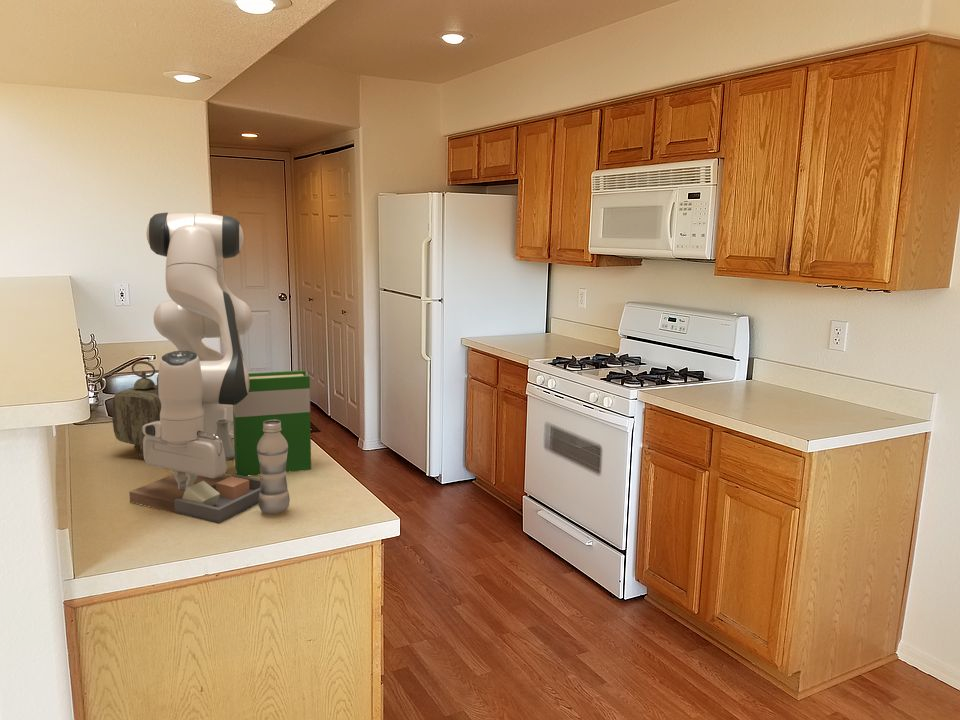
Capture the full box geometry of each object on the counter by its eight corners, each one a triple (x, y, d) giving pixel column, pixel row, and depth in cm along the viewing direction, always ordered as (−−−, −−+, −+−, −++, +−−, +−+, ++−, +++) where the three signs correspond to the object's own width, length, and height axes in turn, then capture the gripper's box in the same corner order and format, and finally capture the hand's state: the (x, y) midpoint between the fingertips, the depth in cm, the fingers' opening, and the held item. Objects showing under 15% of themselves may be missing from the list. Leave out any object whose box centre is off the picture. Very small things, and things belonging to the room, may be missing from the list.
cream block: (199, 491, 160) (203, 480, 159) (215, 504, 159) (220, 493, 158) (181, 498, 156) (186, 487, 155) (198, 512, 154) (202, 501, 153)
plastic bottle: (295, 507, 160) (293, 419, 156) (280, 519, 153) (278, 427, 150) (268, 504, 161) (266, 416, 157) (252, 516, 155) (249, 425, 151)
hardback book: (306, 460, 191) (304, 370, 186) (311, 469, 184) (309, 376, 180) (235, 467, 184) (231, 374, 180) (237, 477, 177) (233, 380, 173)
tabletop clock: (182, 453, 194) (177, 360, 189) (159, 463, 185) (153, 366, 180) (136, 447, 197) (130, 356, 193) (111, 457, 189) (104, 362, 184)
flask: (227, 451, 197) (226, 415, 195) (243, 457, 192) (242, 420, 190) (203, 457, 191) (201, 420, 189) (218, 463, 187) (216, 425, 185)
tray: (234, 486, 171) (233, 473, 171) (275, 494, 167) (275, 482, 166) (175, 513, 155) (174, 499, 155) (219, 523, 151) (218, 510, 150)
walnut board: (191, 477, 176) (191, 467, 176) (234, 486, 171) (234, 475, 171) (130, 502, 160) (129, 491, 160) (175, 513, 155) (174, 502, 155)
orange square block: (232, 488, 168) (232, 476, 168) (249, 492, 166) (249, 479, 166) (216, 495, 164) (215, 483, 163) (233, 499, 162) (233, 486, 161)
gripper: (231, 431, 154) (234, 493, 157) (159, 418, 162) (163, 478, 165) (209, 439, 149) (212, 503, 151) (136, 425, 157) (140, 486, 159)
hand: (186, 490), depth 158 cm, fingers closed
